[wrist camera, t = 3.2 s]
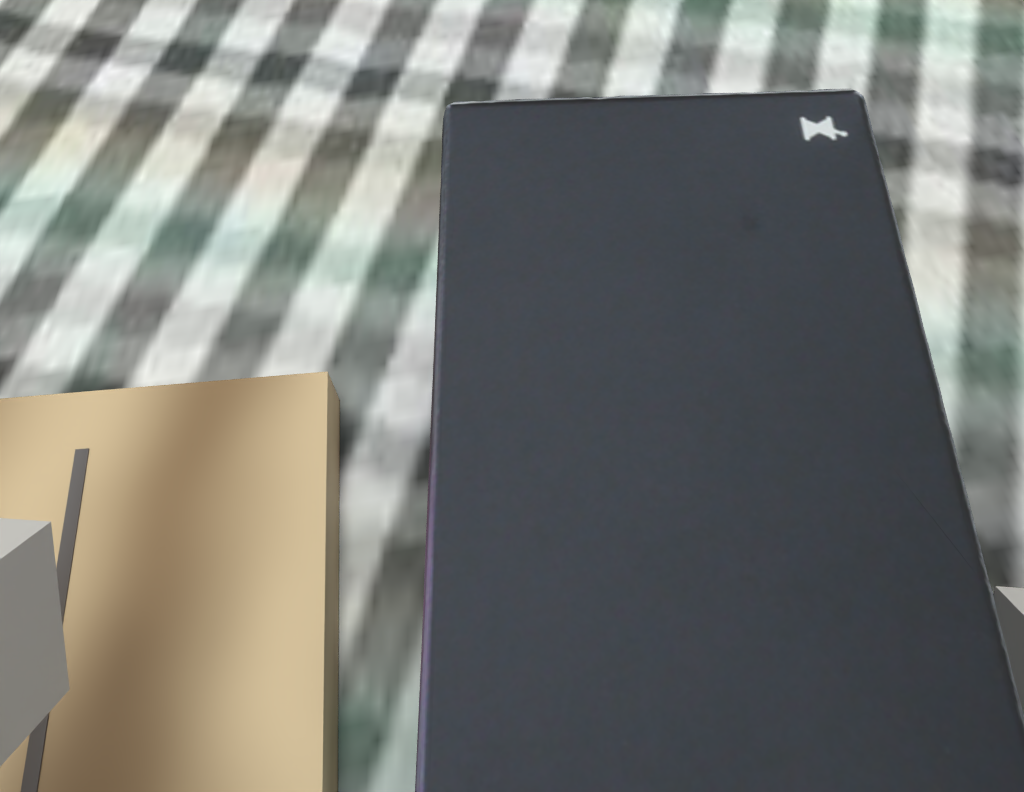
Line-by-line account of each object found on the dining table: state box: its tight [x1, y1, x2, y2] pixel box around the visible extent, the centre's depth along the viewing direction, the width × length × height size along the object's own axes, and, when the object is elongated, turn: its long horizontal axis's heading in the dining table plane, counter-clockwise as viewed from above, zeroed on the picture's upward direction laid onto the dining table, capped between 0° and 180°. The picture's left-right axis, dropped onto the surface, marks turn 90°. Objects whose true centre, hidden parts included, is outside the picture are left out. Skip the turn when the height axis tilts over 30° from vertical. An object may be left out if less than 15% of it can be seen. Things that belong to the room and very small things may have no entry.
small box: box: [415, 89, 1024, 792], centre depth 15 cm, size 11×6×10 cm, turn 0°
